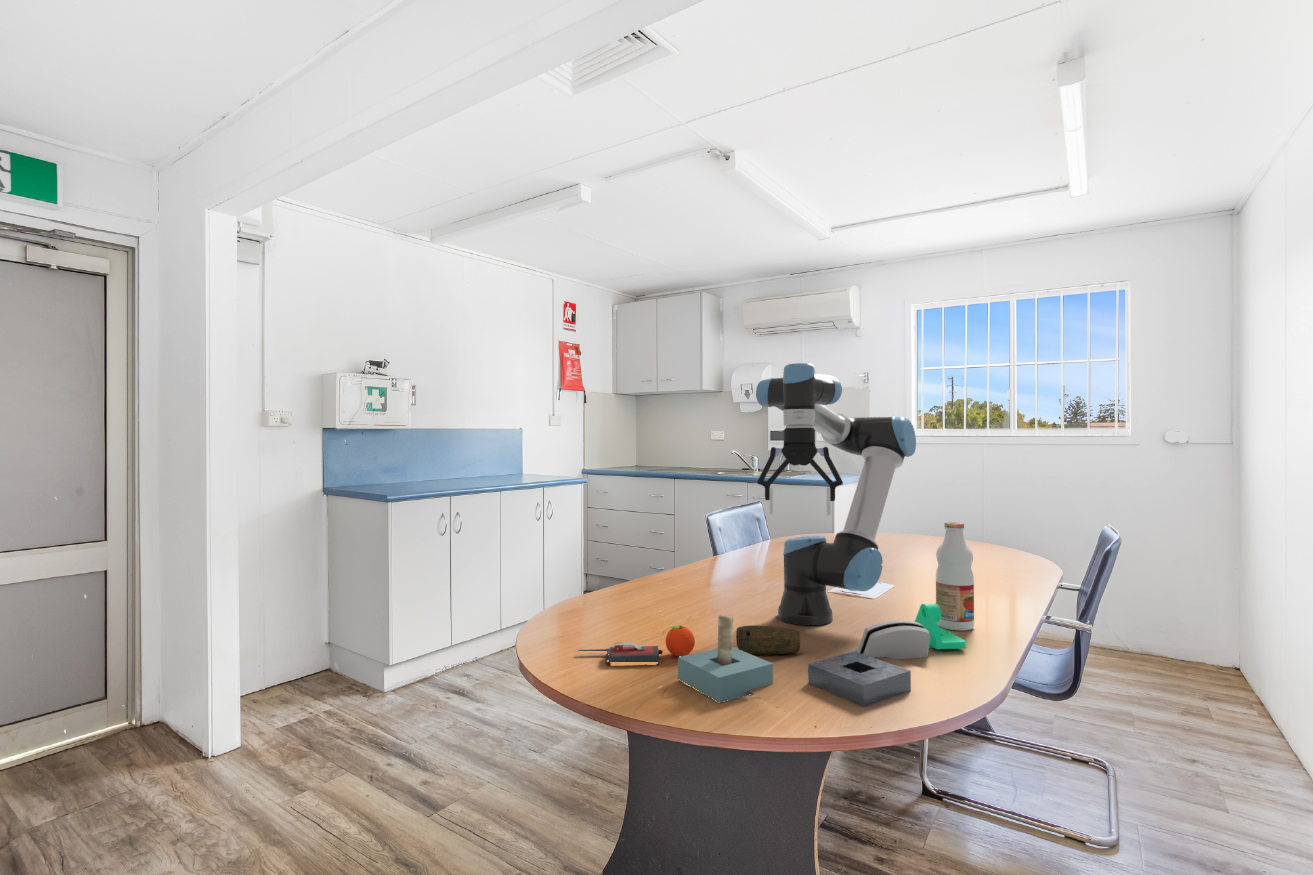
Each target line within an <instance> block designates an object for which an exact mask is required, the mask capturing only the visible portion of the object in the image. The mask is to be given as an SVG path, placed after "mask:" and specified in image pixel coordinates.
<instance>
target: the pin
mask: <svg viewBox="0 0 1313 875" xmlns="http://www.w3.org/2000/svg"><path fill="white" fill-rule="evenodd" d="M717 617H718V622H717V626H718V627H717V628H718V629H717V648H718V659H717V663H718V664H720V665H722V666H725V665H729V664H732V647H733V633H734V632H733V630H734V628H733V627H734V626H733V625H734V624H733V622H734V621H733V620H734V617H733V615H729V614H720V615H718V616H717Z"/></svg>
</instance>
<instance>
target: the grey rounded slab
mask: <svg viewBox="0 0 1313 875" xmlns="http://www.w3.org/2000/svg"><path fill="white" fill-rule="evenodd" d="M861 637H862V638H860V643H859V645H858V648H855V649H854V651H855V652H858V653H861V654H864V655H867V656H870V657H872V658H875V659H877V658H884V657H885V658H886V657H887V658H890V659H893V660H905V659H907V660H908V659H918V658H927V657H929V650H930V648H929V641H930V634H929V632H928V630H927V629H925V627H924V626H923V625H921V624H920V623H917V622H915V621H912V620H907V619H906V620H903V619H902V620H901V619H896V620H887V621H886V620H885V621H882V622H878V623H876V624H872V625H869V626H867V627H866V628H865V629H864V632H863V634H862V636H861Z"/></svg>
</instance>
